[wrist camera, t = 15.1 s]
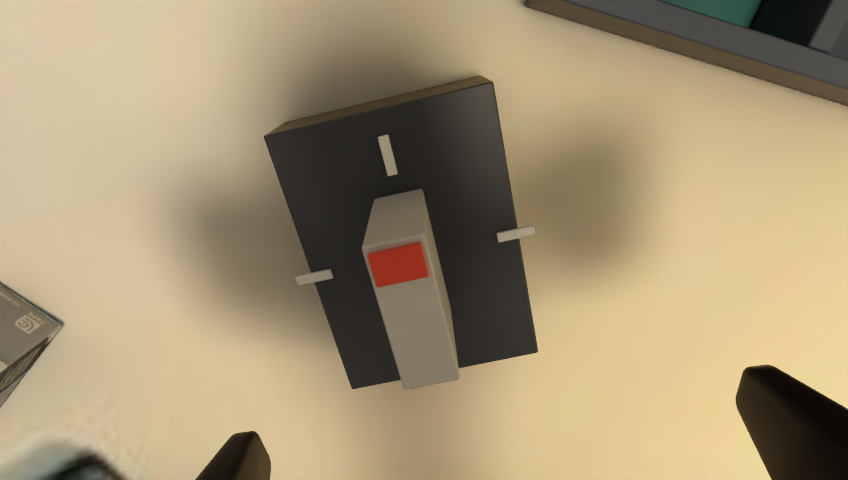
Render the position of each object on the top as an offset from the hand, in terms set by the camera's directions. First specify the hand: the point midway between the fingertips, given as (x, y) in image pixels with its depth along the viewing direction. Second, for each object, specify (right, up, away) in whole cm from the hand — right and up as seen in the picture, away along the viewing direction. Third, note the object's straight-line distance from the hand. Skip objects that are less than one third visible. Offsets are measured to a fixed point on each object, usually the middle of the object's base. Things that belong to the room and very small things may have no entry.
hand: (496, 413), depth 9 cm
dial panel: (-2, +4, +12) cm, 13 cm away
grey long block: (-2, +3, +9) cm, 10 cm away
